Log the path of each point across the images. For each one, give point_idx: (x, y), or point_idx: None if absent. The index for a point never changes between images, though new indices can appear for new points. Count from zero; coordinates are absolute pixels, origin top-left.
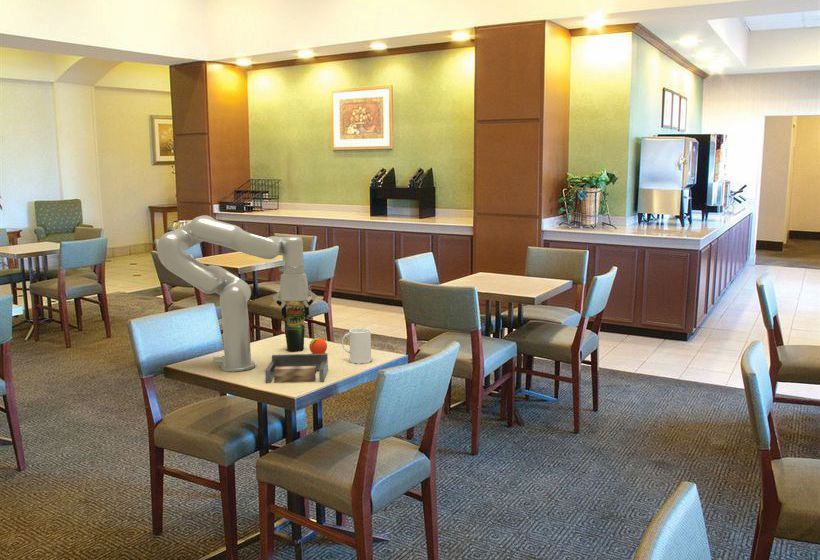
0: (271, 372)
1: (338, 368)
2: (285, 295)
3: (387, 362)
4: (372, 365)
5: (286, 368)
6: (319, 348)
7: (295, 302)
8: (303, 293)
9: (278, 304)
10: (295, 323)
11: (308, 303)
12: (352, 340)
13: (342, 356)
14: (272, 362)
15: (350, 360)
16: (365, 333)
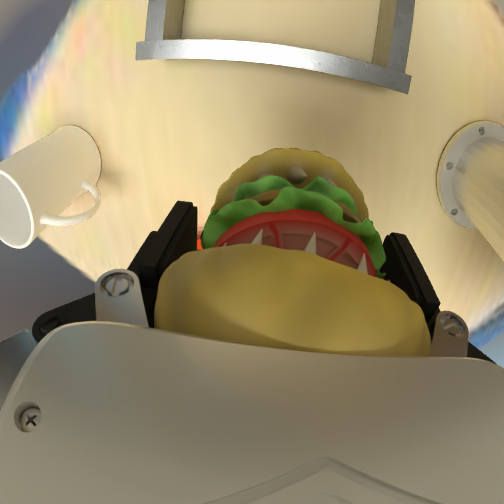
0: None
1: (127, 71)
2: (489, 452)
3: (13, 138)
4: (38, 107)
5: None
6: (197, 244)
7: (286, 309)
8: (41, 458)
9: (481, 353)
10: (294, 165)
11: (94, 315)
12: (37, 165)
13: (131, 218)
14: (401, 32)
15: (93, 148)
16: None
